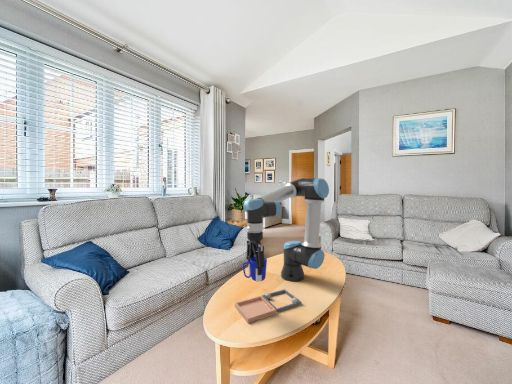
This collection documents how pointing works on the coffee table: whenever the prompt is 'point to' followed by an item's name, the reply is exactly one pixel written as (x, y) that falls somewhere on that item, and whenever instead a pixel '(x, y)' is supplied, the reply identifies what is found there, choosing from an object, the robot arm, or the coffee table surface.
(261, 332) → the coffee table surface
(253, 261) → the mug
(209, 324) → the coffee table surface
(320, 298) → the coffee table surface
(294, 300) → the pebble
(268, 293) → the pebble
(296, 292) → the coffee table surface
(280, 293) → the slate bin
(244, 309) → the terracotta dish
